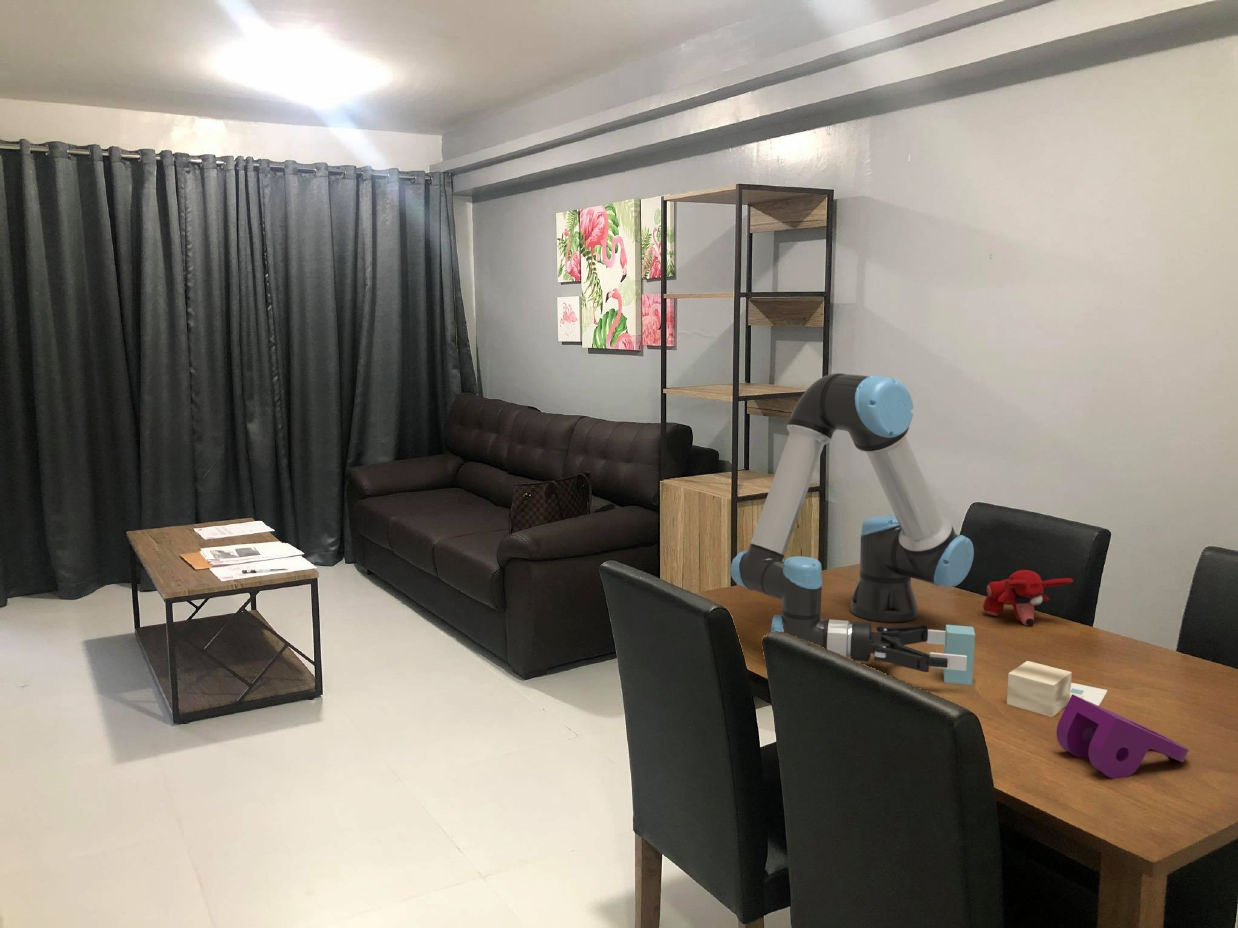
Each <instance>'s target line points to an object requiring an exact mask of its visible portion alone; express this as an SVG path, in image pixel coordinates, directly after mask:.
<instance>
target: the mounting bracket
mask: <svg viewBox="0 0 1238 928" xmlns="http://www.w3.org/2000/svg"><path fill="white" fill-rule="evenodd" d="M1056 740H1057V742H1058V744H1059V746H1060V747H1061V748H1062V749H1063V750H1065V751H1066V752H1067V753H1069V754H1071V755H1072V756H1075V757H1076V758H1085V757H1086V758H1087V757H1088V759H1089V762H1090V765H1092V767H1093V768H1094V769H1095V770H1097V771H1099V772H1100V773H1101V774H1103V775H1104V776H1107V777H1108V778H1110V779H1112V780H1115V779H1122V778H1128V777H1130V776H1132V775H1134V773H1136V772H1137V771H1138V768H1139V767H1140V766H1141V764H1142V762H1143V760H1144V758H1145V756H1146V754H1147V752H1148V751H1149V750H1153V751H1156V752H1158V753H1160V754H1162V755H1164V756H1166V757H1169V758H1171V759H1174V760H1176V761H1179V762H1181V763H1184V762H1185V760H1186V757H1187V755H1188V752H1189V750H1190V749H1188V748H1187V747H1185V746H1183V745H1181V744H1180V743H1178V742H1176V741H1174V740H1172V739H1171V738H1168V737H1166V736H1164V735H1162V734H1160V733H1158V732H1157V731H1155V730H1152V729H1150V728H1148V727H1147V726H1144V725H1142V724H1140V723H1138V722H1135V721H1133V720H1131V719H1128V718H1127V717H1124V716H1122V715H1120V714H1117V713H1115V712H1113V711H1111V710H1109V709H1106V708H1104V707H1102V706H1100V705H1099V706H1097V705H1095V704H1093V703H1091V702H1089V701H1086V700H1084V699H1082V698H1080V697H1077V696H1075V695H1073V694H1072V696H1071V698H1070V700H1069V702H1068V704H1067V706H1066V707H1065V708H1064V710H1063V712H1062V714H1061V717H1060V718H1059V720H1058V723H1057V727H1056Z"/></svg>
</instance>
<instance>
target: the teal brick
mask: <svg viewBox="0 0 1238 928" xmlns="http://www.w3.org/2000/svg"><path fill="white" fill-rule="evenodd" d="M945 631H946V633H945V645H944V651H943V653H944V654H955V655H965V656H967V664H966V671H961V670H951V669H942V670H943V673H942V675H943V682H944V683H946V684H957V685H968V686H973V677H974V676H973V675H974V663H975V662H974V661H975V645H976V644H975V643H976V632H975V629H974V626H965V625H954V624H945Z"/></svg>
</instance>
